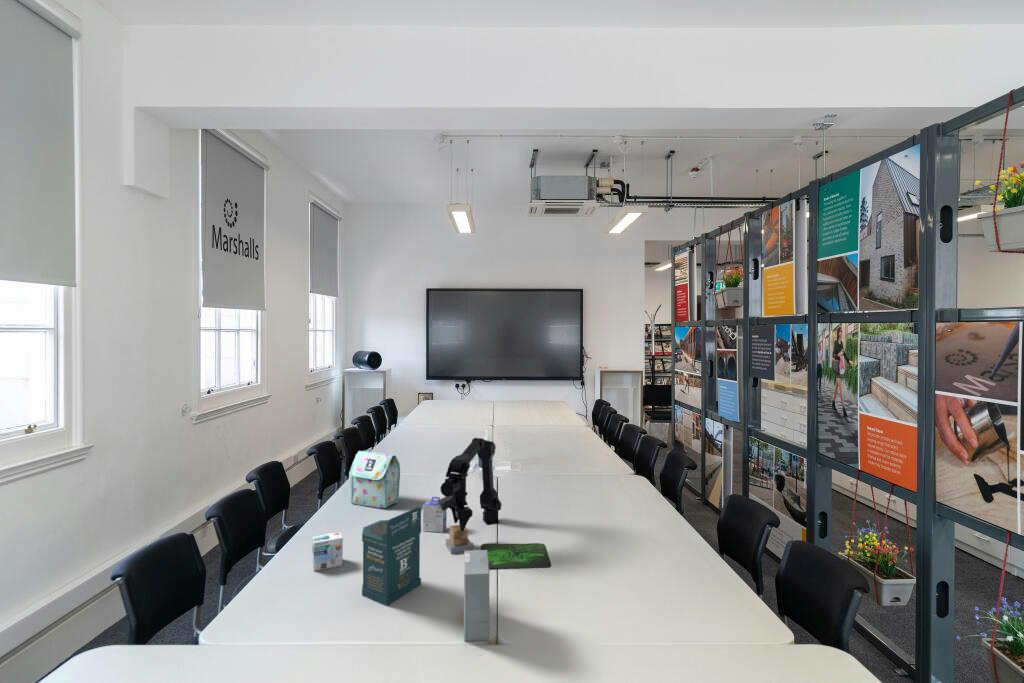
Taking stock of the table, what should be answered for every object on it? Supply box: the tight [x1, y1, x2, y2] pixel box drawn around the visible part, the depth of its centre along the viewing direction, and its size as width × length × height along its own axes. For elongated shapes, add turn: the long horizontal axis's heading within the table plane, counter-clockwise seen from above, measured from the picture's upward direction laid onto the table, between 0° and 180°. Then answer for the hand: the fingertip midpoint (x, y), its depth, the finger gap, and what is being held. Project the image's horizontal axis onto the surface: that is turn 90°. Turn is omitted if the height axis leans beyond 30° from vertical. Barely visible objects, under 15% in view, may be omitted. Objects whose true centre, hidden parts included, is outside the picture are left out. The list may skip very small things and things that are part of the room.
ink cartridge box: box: [422, 496, 448, 533], centre depth 221 cm, size 10×6×14 cm, turn 81°
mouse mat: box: [480, 542, 552, 570], centre depth 196 cm, size 27×22×1 cm
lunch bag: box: [349, 450, 401, 509], centre depth 255 cm, size 23×16×27 cm
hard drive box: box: [463, 549, 490, 642], centre depth 149 cm, size 16×8×20 cm, turn 5°
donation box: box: [361, 506, 422, 607], centre depth 170 cm, size 16×16×28 cm
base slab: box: [445, 538, 474, 555], centre depth 203 cm, size 9×9×3 cm
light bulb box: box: [311, 531, 344, 572], centre depth 187 cm, size 11×7×11 cm, turn 117°
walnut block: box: [449, 524, 469, 546], centre depth 202 cm, size 6×6×6 cm
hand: (458, 526), depth 202 cm, fingers open, 9 cm apart
